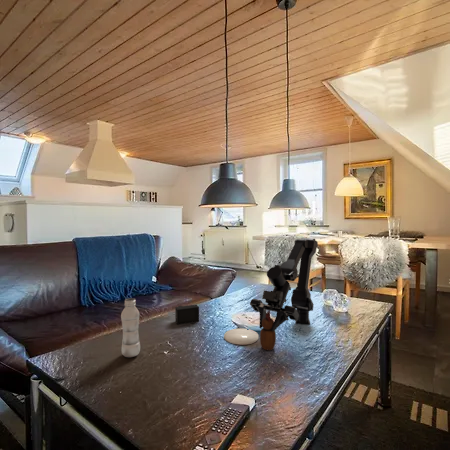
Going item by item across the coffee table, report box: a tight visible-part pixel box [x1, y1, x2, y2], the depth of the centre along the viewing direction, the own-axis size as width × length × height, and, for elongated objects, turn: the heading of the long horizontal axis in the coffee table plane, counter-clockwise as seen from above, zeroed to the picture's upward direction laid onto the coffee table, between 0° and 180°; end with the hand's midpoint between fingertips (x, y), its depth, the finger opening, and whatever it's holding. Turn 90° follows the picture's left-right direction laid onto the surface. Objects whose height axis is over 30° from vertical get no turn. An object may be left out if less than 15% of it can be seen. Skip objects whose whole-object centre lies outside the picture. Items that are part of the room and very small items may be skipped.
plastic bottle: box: [120, 298, 141, 358], centre depth 105 cm, size 6×7×20 cm
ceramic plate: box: [223, 327, 260, 346], centre depth 121 cm, size 14×14×1 cm
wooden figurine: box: [259, 310, 277, 351], centre depth 111 cm, size 7×6×15 cm
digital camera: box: [174, 304, 200, 325], centre depth 139 cm, size 10×5×7 cm, turn 112°
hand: (266, 329), depth 110 cm, fingers closed on wooden figurine, 5 cm apart
